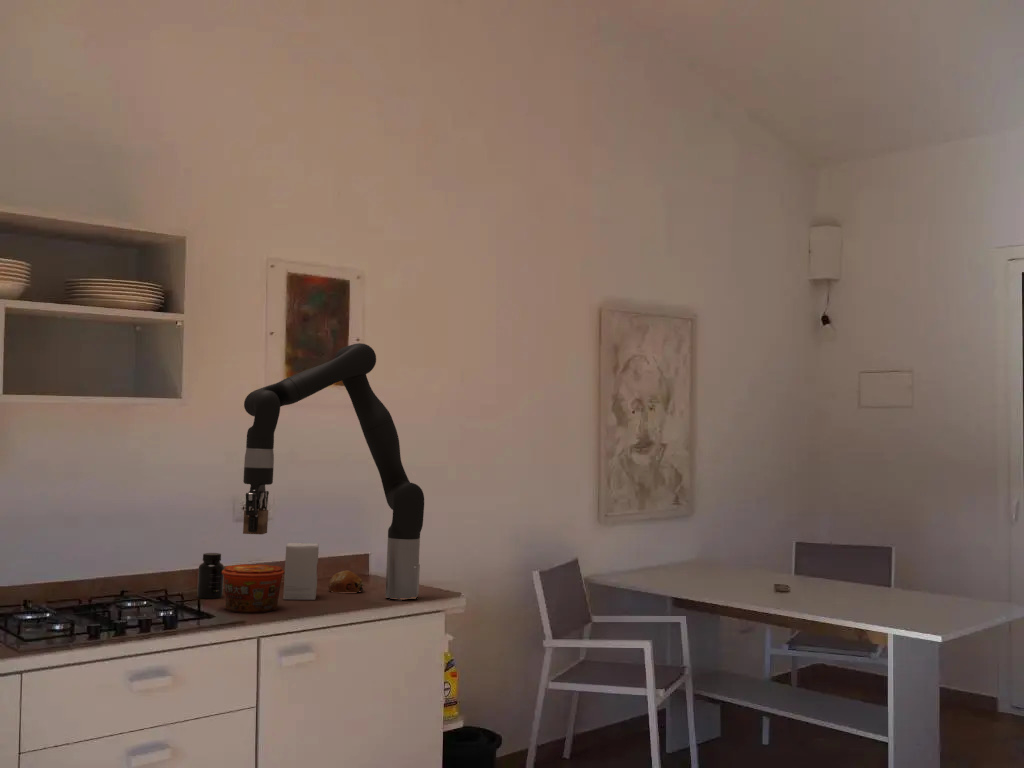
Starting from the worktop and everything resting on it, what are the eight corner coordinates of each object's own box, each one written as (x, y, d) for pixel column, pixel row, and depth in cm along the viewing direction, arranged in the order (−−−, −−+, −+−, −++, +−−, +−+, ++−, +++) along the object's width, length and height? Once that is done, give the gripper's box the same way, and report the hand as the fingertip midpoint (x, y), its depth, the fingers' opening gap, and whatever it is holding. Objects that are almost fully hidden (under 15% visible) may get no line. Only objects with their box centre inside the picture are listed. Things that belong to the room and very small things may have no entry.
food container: (241, 616, 247) (243, 573, 248) (207, 607, 258) (209, 566, 259) (295, 610, 259) (297, 568, 260) (260, 602, 270) (262, 562, 270)
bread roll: (350, 600, 300) (343, 575, 302) (373, 589, 294) (366, 564, 297) (326, 604, 292) (319, 578, 294) (349, 593, 286) (342, 566, 289)
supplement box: (315, 600, 275) (318, 546, 276) (282, 600, 274) (285, 545, 275) (316, 595, 284) (319, 542, 285) (285, 595, 283) (287, 542, 284)
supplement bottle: (192, 596, 274) (194, 553, 275) (214, 594, 279) (216, 551, 280) (205, 600, 270) (207, 555, 270) (227, 597, 275) (229, 554, 275)
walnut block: (267, 532, 262) (268, 510, 262) (262, 534, 257) (263, 511, 257) (248, 532, 262) (249, 509, 263) (242, 533, 257) (244, 510, 258)
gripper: (266, 467, 254) (262, 534, 252) (279, 466, 268) (276, 529, 267) (236, 466, 254) (233, 533, 253) (252, 465, 268) (248, 528, 267)
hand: (255, 530), depth 260 cm, fingers closed on walnut block, 5 cm apart
